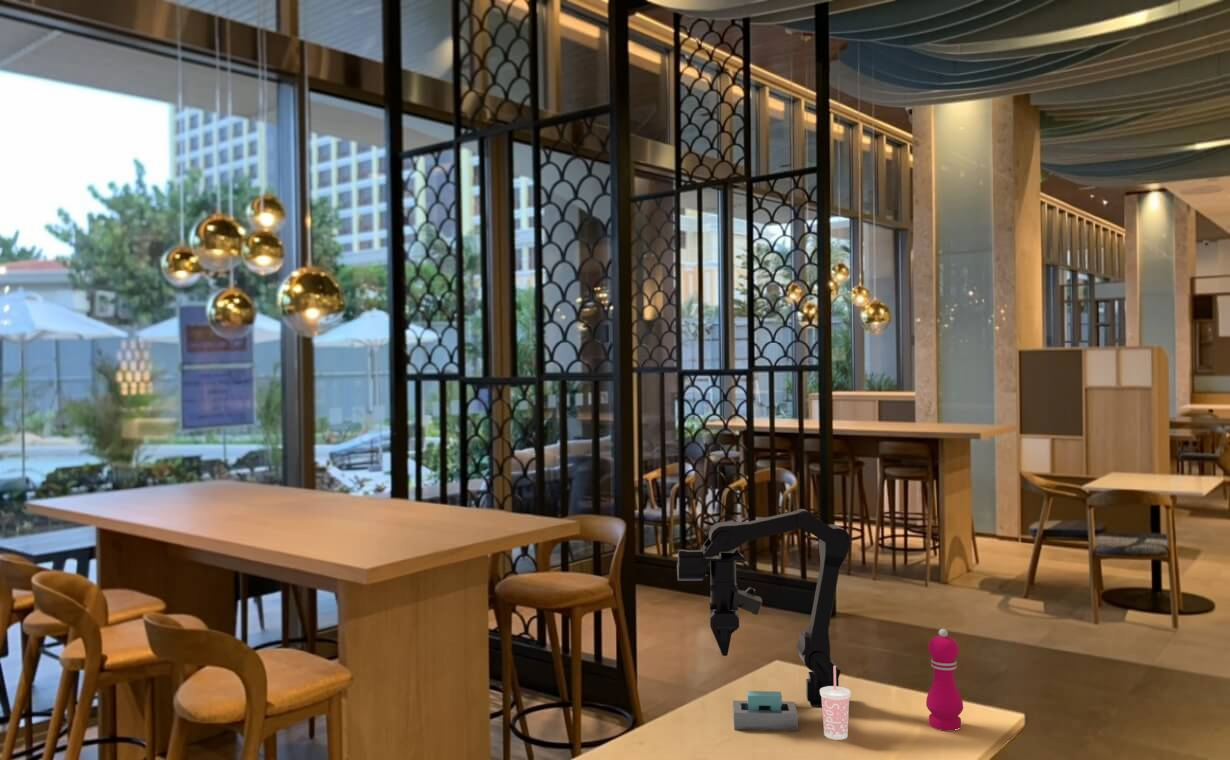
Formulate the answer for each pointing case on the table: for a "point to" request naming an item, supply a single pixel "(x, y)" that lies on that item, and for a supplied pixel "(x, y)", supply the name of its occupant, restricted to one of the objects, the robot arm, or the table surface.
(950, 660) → the pepper mill
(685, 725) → the table surface
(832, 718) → the beverage cup
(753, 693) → the light blue rectangular block
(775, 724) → the grey slotted tray
